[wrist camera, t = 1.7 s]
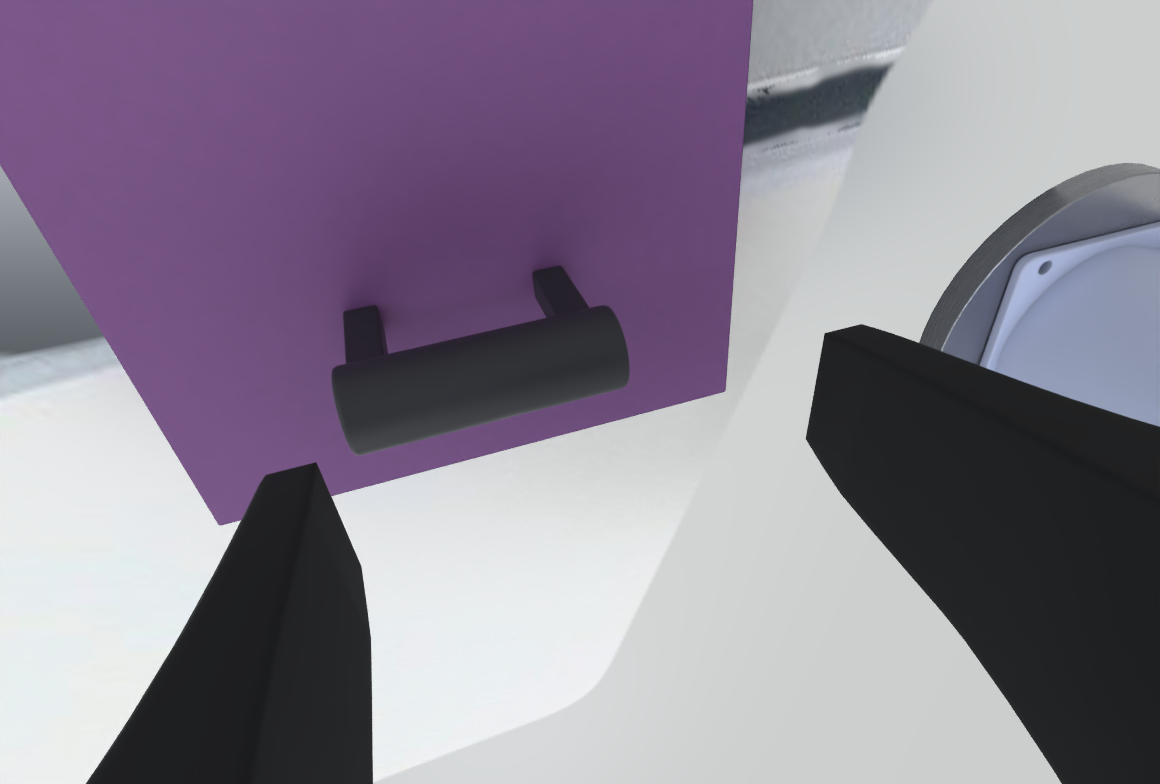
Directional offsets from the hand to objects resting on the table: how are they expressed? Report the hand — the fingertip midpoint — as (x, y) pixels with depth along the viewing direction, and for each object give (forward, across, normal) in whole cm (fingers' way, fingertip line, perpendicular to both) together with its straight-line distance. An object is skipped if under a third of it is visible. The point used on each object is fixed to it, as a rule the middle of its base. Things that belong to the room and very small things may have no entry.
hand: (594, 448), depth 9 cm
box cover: (+7, +1, -1) cm, 7 cm away
